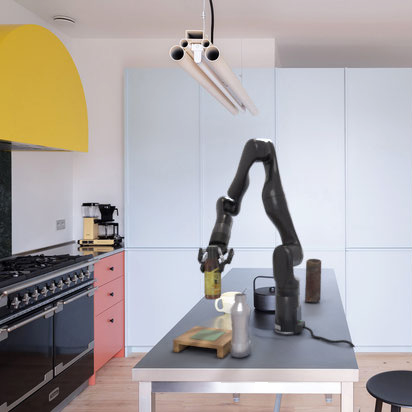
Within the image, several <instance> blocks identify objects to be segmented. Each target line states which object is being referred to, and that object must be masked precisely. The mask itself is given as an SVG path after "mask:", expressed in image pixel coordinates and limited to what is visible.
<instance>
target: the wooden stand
mask: <svg viewBox="0 0 412 412" xmlns="http://www.w3.org/2000/svg"><path fill="white" fill-rule="evenodd" d="M231 338H232V329H228V328H227V329H225V328H216V327H206V326H198V325H195V326H193V327H192V328H190V329H188V330H187V331H185V332H184V333H182V334H181V335H179V336H176V337H175V338H174V339H172V350H173V353H180V352H181V351H183V350H185V349H186V348H187V347H189V346H191V347H199V348H209V349H215V350H216V357H217V358H219V359H220V358H221V359H223V358H225V357H226V356H227V355H228V354H230V344H231Z"/></svg>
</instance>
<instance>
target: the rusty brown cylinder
mask: <svg viewBox="0 0 412 412" xmlns="http://www.w3.org/2000/svg"><path fill="white" fill-rule="evenodd" d="M305 262H306V263H305V287H304V289H305V290H304V301H305V302H306V303H318V302H320V301H321V297H322V296H321V295H322V293H321V292H322V260H321V259H318V258H308V259H306V261H305Z"/></svg>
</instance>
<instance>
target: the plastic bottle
mask: <svg viewBox="0 0 412 412" xmlns="http://www.w3.org/2000/svg"><path fill="white" fill-rule="evenodd" d="M247 299H248V297H247V294H246V293H244V292H239V293H234V299H233V301H234V303H233V304H232V307H231V308H230V313H229V314H230V321H231V330H232V338H231V344H230V352H229V354H230V355H231V356H232V357H234V358H245V357H248V356H249V354H250V353H251V351H252V346H251V340H250V339H251V338H250V321H251V315H252V309H251V307H250V305H249V304H248V303H247Z"/></svg>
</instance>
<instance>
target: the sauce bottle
mask: <svg viewBox="0 0 412 412" xmlns="http://www.w3.org/2000/svg"><path fill="white" fill-rule="evenodd" d="M206 248H207V250H208V256H207V257H208V259H207V260H206V262H205V271H204V273H203V274H204V275H203V279H204V282H203V283H204V284H203V286H204V287H203V288H204V289H203V290H204V299H206V300H217V299H220V298H222V297H221V296H222V273H219V266H220V262H221V261H220V259H218V246H208V245H207V246H206Z"/></svg>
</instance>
